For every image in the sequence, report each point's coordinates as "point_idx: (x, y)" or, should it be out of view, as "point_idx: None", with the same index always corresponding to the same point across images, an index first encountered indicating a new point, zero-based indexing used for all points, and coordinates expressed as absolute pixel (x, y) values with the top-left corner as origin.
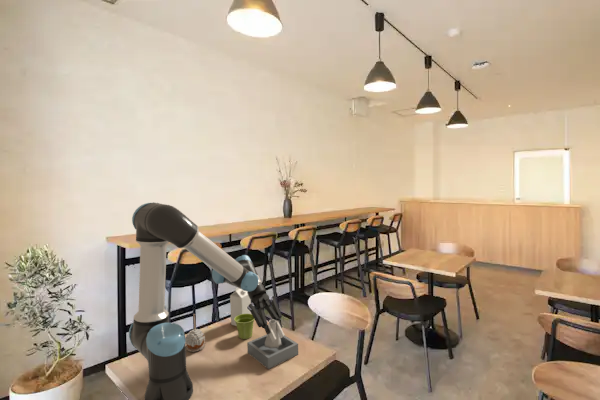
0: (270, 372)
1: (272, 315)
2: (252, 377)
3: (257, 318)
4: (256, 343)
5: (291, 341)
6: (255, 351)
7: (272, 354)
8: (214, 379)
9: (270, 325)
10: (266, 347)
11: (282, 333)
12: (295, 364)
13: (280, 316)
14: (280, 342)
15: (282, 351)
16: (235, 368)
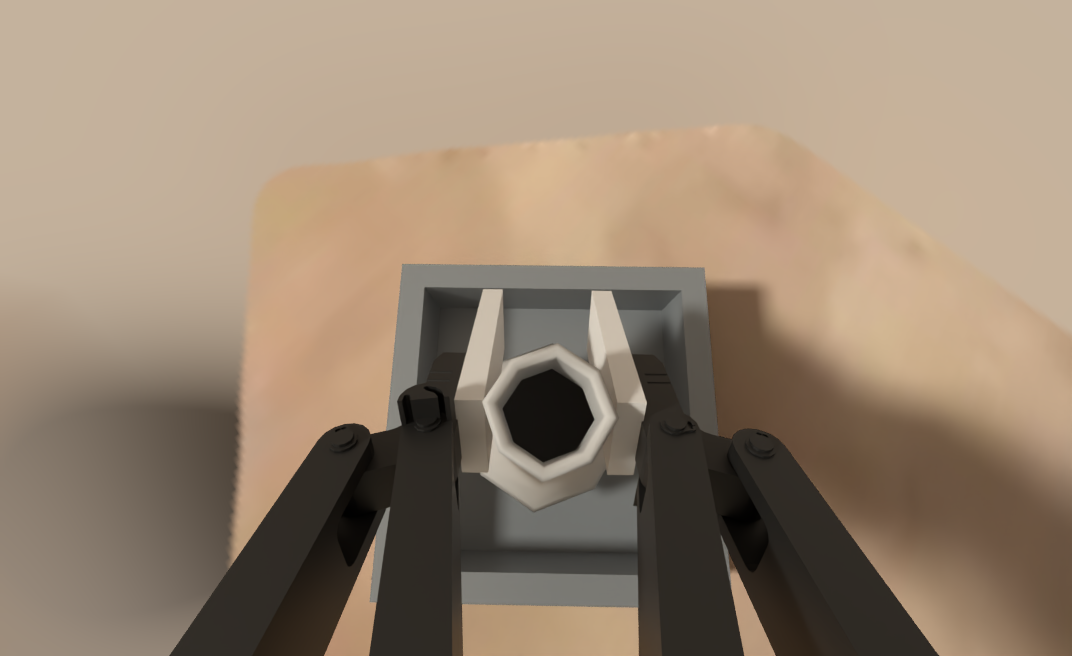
0: (682, 264)
1: (457, 537)
2: (796, 298)
3: (857, 553)
4: (634, 566)
5: (414, 327)
6: None
7: (652, 283)
8: (1018, 447)
9: (594, 405)
10: (555, 504)
11: (498, 299)
12: (516, 225)
13: (355, 433)
14: (504, 363)
15: (566, 266)
16: (854, 456)
